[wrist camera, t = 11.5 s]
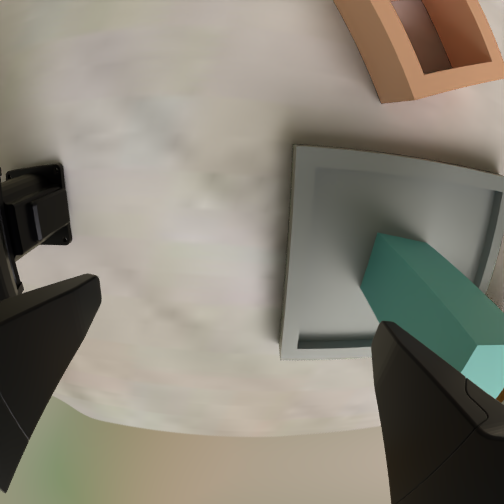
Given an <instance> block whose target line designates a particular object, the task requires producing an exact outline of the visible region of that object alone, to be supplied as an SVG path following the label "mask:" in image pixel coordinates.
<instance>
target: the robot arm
mask: <svg viewBox="0 0 504 504" xmlns="http://www.w3.org/2000/svg"><path fill="white" fill-rule="evenodd" d="M56 168H58V173H57V172H56ZM1 175H2V174H1V167H0V176H1ZM10 175H11V177H10ZM65 237H66V238H67V240H66V239H65ZM71 241H72V234H71V228H70V218H69V211H68V203H67V195H66V190H65V181H64V170H63V166H62V165H61V164H59V163H57V164H50V165H42V166H36V167H29V168H23V169H17V170H11V171H8V172H7V173H6V181H5V182H2V183H1V177H0V490H1V491H2V492H4V493H6V492H7V490H8V488H9V485H10V483H11V480H12V478H13V476H14V473H15V471H16V468H17V466H18V464H19V462H20V459H21V457H22V455H23V452H24V451H25V448H26V446H27V444H28V441H29V439H30V437H31V435H32V433H33V431H34V429H35V427H36V425H37V423H38V421H39V419H40V417H41V415H42V413H43V411H44V409H45V407H46V405H47V403H48V402H49V400H50V398H51V396H52V394H53V392H54V390H55V389H56V387H57V385H58V383H59V381H60V380H61V378H62V376H63V374H64V372H65V371H66V369H67V367H68V365H69V364H70V362H71V360H72V358H73V357H74V355H75V353H76V352H77V350H78V348H79V347H80V345H81V343H82V341H83V340H84V338H85V336H86V334H87V332H88V329H89V327H90V325H91V323H92V321H93V319H94V317H95V315H96V313H97V311H98V309H99V307H100V304H101V299H102V298H101V289H100V281H99V278H98V276H96V275H92V274H83V275H80V276H77V277H74V278H70V279H67V280H64V281H61V282H57V283H54V284H51V285H48V286H45V287H41V288H38V289H35V290H32V291H29V292H26V293H22V292H23V290H24V288H23V284H22V282H20V278H19V275H18V271H17V267H16V263H15V262H16V261H17V260H19V259H20V258H21V257H23V256H24V255H25V254H27V253H28V252H30V251H31V250H32V249H34V248H35V247H37V246H38V245H68V244H69V243H71ZM371 353H372V364H373V376H374V387H375V393H376V399H377V404H378V410H379V416H380V421H381V427H382V433H383V440H384V447H385V454H386V461H387V468H388V477H389V486H390V495H391V504H504V404H502V403H501V402H499V401H498V400H496V399H495V398H493V397H492V396H491V395H489V394H488V393H486V392H485V391H484V390H482V389H481V388H480V387H478V386H477V385H476V384H474V383H473V382H472V381H471V380H469V379H468V378H466V377H465V376H464V375H463V374H462V373H460V372H459V371H458V370H456V369H455V368H454V367H453V366H451V365H450V364H449V363H447V362H446V361H445V360H443V359H442V358H441V357H440V356H438V355H437V354H436V353H434V352H433V351H432V350H430V349H429V348H428V347H426V346H425V345H424V344H422V343H421V342H420V341H419V340H417V339H416V338H415V337H413V336H412V335H411V334H409V333H408V332H407V331H405V330H404V329H403V328H401V327H400V326H399V325H397V324H396V323H395V322H392V321H381V322H380V323H379V325H378V328H377V330H376V333H375V335H374V338H373V340H372V344H371Z"/></svg>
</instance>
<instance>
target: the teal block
mask: <svg viewBox="0 0 504 504" xmlns="http://www.w3.org/2000/svg"><path fill="white" fill-rule="evenodd" d="M360 289H361V291H362V292H363V294H364V296H365V298H366V300H367V301H368V303H369V305H370V307H371V309H372V311H373V312H374V314H375V316H376V318H377V320H378V322H379V323H380V322H381V321H392V322H395V323H396V324H397V325H399V326H400V327H401V328H403V329H404V330H405V331H407V332H408V333H409V334H411V335H412V336H413V337H415V338H416V339H417V340H419V341H420V342H421V343H422V344H424V345H425V346H426V347H428V348H429V349H430V350H432V351H433V352H434V353H436V354H437V355H438V356H440V357H441V358H442V359H443V360H445V361H446V362H447V363H449V364H450V365H451V366H453V367H454V368H455V369H456V370H458V371H459V372H460V373H462V374H463V375H464V376H465V377H466V378H468V379H469V380H471V381H472V382H473V383H474V384H476V385H477V386H478V387H480V388H481V389H482V390H484V391H485V392H486V393H488V394H489V395H491V396H492V397H493V398H495V399H496V398H497V397H498V395H499V394H500V392H501V391H502V390H503V388H504V313H503V312H502V311H501V310H500V309H499V308H498V307H497V306H496V305H495V304H494V303H493V302H492V301H491V300H490V299H489V298H488V297H487V296H486V295H485V294H484V293H483V292H482V291H481V290H480V289H479V288H478V287H477V286H475V285H474V284H473V283H472V282H471V281H470V280H469V279H468V278H467V277H466V276H465V275H464V274H462V273H461V272H460V271H459V270H458V269H457V268H456V267H455V266H453V265H452V264H451V263H450V262H449V261H448V260H447V259H445V258H444V257H443V256H442V255H441V254H440V253H438V252H437V251H436V250H435V249H434V248H432V247H431V246H430V245H429V244H428V243H425V242H420V241H416V240H411V239H406V238H402V237H397V236H392V235H387V234H382V233H377V236H376V240H375V243H374V246H373V249H372V253H371V256H370V259H369V262H368V265H367V268H366V271H365V274H364V278H363V280H362V283H361V286H360Z"/></svg>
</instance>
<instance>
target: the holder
mask: <svg viewBox="0 0 504 504" xmlns="http://www.w3.org/2000/svg"><path fill="white" fill-rule="evenodd" d="M333 1H334V3H335V5H336V7H337V8H338V10H339V12H340V14H341V16H342V18H343V19H344V21H345V23H346V25H347V27H348V29H349V31H350V33H351V35H352V37H353V39H354V41H355V43H356V45H357V47H358V50H359V52H360V54H361V56H362V58H363V60H364V63H365V65H366V67H367V69H368V72H369V74H370V76H371V79H372V81H373V84H374V86H375V89H376V91H377V94H378V96H379V99H380V101H381V104H382V103H391V102H401V101H411V100H417V99H421V98H424V97H428V96H432V95H435V94H439V93H443V92H447V91H451V90H455V89H459V88H463V87H467V86H471V85H476V84H480V83H485V82H489V81H494V80H499V79H504V62H503V59H502V56H501V53H500V51H499V48H498V45H497V43H496V40H495V38H494V35H493V33H492V30H491V28H490V26H489V23H488V21H487V19H486V17H485V15H484V12H483V10H482V8H481V6H480V4H479V2H478V0H422V2H423V4H424V6H425V8H426V10H427V12H428V14H429V16H430V18H431V20H432V22H433V24H434V26H435V28H436V30H437V33H438V35H439V37H440V39H441V42H442V44H443V46H444V49H445V51H446V54H447V56H448V59H449V61H450V64H451V66H452V68H450V69H446V70H441V71H436V72H432V73H428V74H424V73H423V71H422V68H421V66H420V63H419V61H418V58H417V56H416V54H415V51H414V49H413V47H412V44H411V42H410V40H409V38H408V36H407V34H406V31H405V29H404V27H403V25H402V23H401V21H400V19H399V17H398V15H397V13H396V11H395V9H394V8H393V6H392V4H391V2H390V1H398V0H333Z"/></svg>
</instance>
